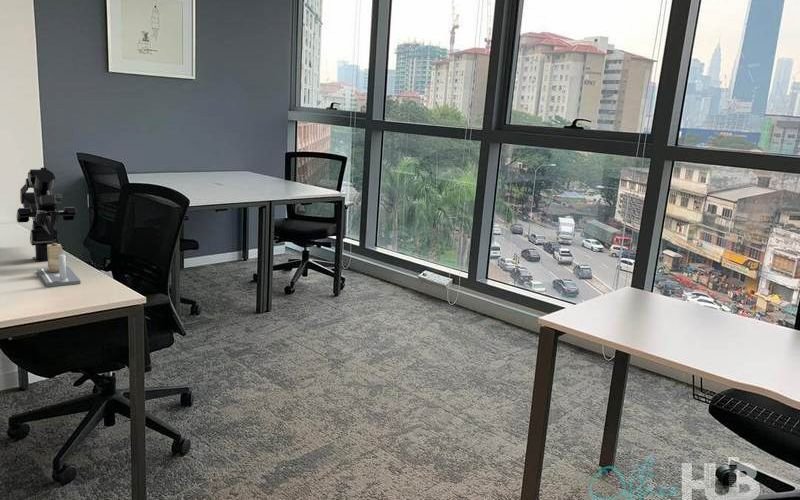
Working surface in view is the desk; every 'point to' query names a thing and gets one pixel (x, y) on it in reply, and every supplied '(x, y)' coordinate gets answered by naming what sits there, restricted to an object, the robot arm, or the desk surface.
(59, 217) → the robot arm
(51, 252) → the pointer block
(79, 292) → the desk surface
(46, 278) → the gauge board
